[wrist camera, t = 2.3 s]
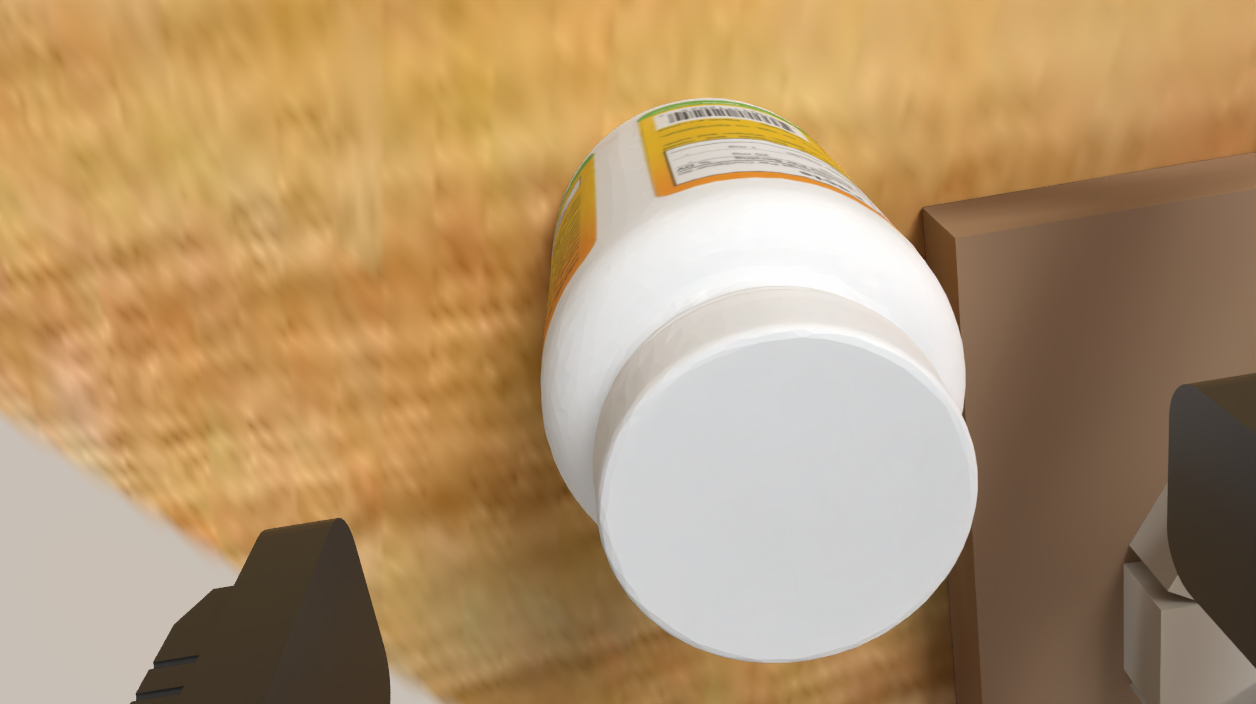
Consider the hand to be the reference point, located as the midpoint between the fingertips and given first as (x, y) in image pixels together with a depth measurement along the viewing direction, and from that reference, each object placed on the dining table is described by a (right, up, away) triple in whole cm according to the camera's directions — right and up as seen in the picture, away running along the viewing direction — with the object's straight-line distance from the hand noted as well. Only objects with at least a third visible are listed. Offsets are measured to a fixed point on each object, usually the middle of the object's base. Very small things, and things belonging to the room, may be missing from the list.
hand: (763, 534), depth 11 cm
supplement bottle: (0, +4, +10) cm, 11 cm away
